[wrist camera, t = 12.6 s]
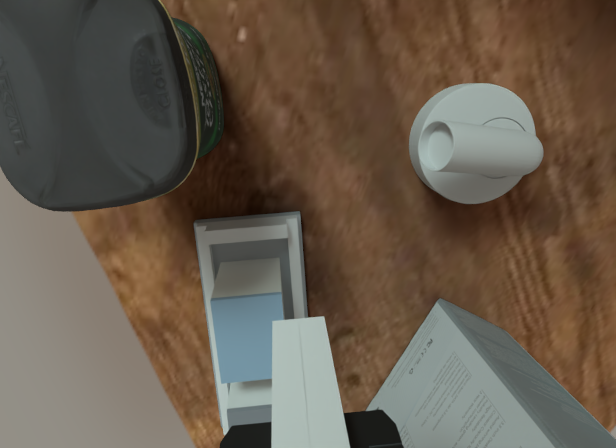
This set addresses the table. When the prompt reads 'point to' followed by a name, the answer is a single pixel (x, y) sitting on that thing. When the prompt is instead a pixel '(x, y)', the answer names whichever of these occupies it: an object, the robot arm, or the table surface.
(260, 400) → the block
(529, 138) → the wall hook
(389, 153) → the table surface
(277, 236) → the rail
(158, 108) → the coffee jar
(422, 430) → the hard drive box
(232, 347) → the module
